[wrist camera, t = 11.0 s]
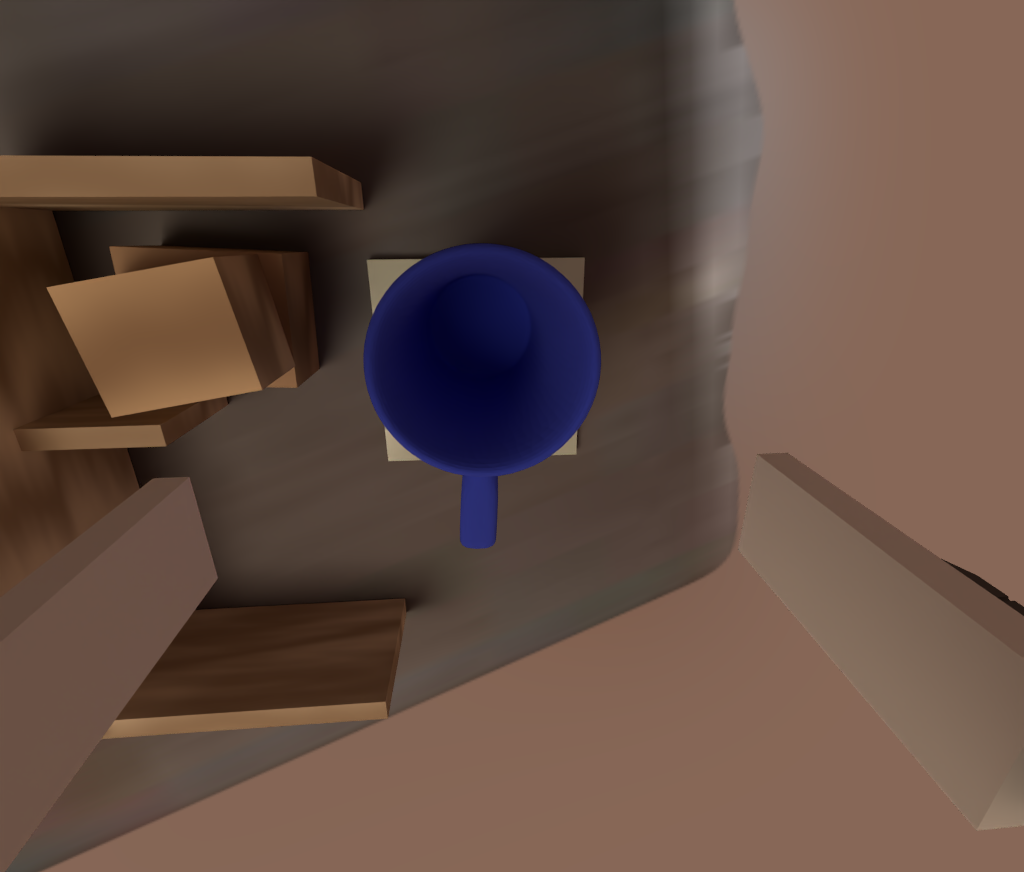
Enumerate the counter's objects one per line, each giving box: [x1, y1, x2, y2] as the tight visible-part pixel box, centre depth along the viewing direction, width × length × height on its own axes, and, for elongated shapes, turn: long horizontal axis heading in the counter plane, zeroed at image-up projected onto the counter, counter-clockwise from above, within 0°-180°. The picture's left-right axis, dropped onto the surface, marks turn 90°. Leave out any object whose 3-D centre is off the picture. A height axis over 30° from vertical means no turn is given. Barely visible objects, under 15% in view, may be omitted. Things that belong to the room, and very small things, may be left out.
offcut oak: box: [46, 254, 295, 417], centre depth 21 cm, size 5×6×4 cm
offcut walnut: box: [109, 246, 320, 388], centre depth 24 cm, size 6×7×4 cm
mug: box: [364, 243, 601, 549], centre depth 22 cm, size 8×12×10 cm
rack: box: [0, 156, 406, 739], centre depth 24 cm, size 26×16×10 cm, turn 0°
